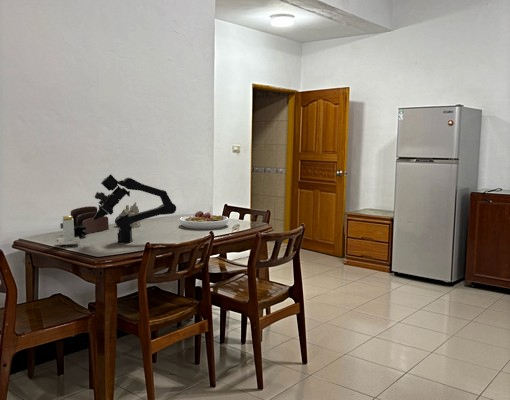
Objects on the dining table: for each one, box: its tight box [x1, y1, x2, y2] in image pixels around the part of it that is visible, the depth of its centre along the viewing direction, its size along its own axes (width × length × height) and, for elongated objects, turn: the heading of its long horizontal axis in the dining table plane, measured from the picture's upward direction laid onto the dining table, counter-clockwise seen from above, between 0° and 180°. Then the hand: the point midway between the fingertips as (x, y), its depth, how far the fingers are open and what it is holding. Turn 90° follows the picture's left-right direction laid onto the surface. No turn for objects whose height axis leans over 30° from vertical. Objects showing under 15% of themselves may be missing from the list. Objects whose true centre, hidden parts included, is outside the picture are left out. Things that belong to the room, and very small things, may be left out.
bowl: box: [179, 210, 229, 230], centre depth 323 cm, size 30×30×8 cm
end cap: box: [74, 225, 87, 240], centre depth 280 cm, size 10×7×7 cm
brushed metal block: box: [60, 215, 75, 241], centre depth 260 cm, size 6×6×12 cm
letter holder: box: [70, 206, 110, 235], centre depth 301 cm, size 10×20×14 cm, turn 151°
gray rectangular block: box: [57, 237, 81, 247], centre depth 261 cm, size 10×10×3 cm
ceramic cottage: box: [118, 201, 142, 229], centre depth 319 cm, size 16×16×15 cm
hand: (94, 219), depth 265 cm, fingers closed
